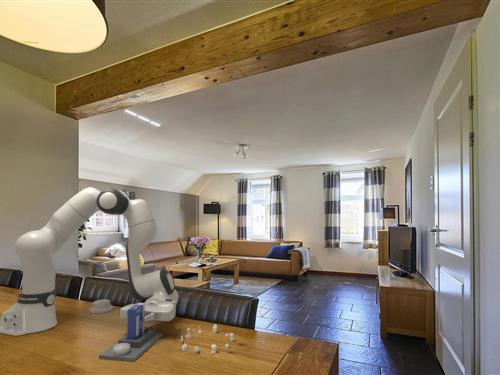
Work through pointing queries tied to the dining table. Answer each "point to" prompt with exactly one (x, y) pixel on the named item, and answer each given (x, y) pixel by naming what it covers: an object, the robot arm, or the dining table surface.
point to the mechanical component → (101, 306)
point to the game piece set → (200, 333)
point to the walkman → (136, 321)
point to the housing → (131, 346)
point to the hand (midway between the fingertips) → (137, 319)
